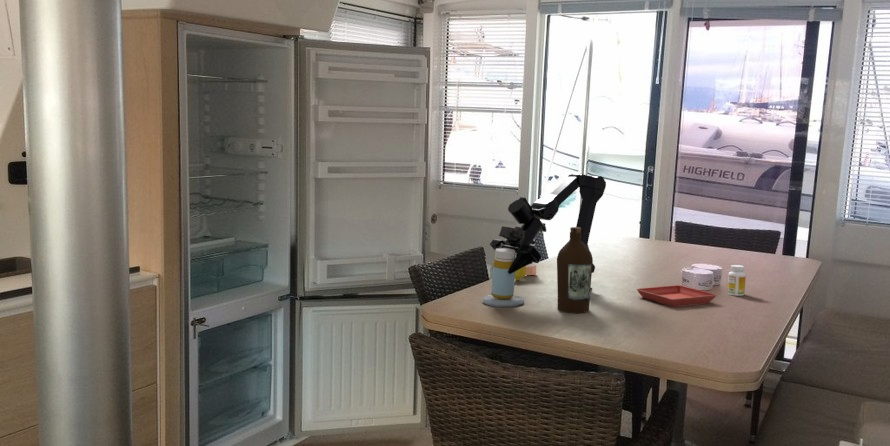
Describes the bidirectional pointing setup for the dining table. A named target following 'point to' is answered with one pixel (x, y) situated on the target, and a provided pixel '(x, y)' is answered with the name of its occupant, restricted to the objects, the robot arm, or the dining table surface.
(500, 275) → the bottle
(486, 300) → the stand
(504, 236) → the robot arm
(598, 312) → the dining table surface
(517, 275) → the lemon
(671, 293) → the plant saucer
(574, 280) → the olive oil
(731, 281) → the supplement bottle
